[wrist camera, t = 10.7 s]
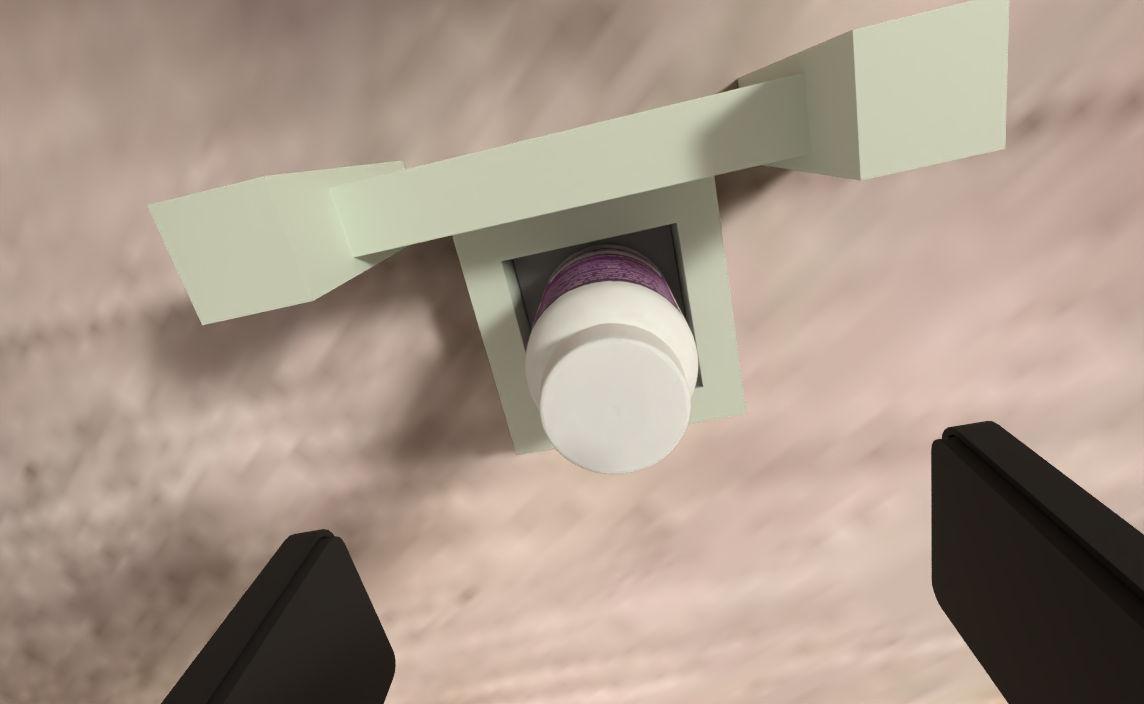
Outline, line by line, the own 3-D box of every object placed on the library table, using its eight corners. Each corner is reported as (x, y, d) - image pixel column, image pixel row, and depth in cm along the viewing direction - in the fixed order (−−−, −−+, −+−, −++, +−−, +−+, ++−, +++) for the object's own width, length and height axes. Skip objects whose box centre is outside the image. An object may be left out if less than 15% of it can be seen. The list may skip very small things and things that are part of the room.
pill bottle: (516, 289, 24) (468, 381, 15) (625, 215, 23) (646, 267, 14) (589, 389, 25) (585, 528, 16) (695, 325, 24) (755, 437, 15)
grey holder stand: (331, 177, 23) (146, 205, 13) (821, 57, 21) (1009, -10, 11) (425, 445, 27) (334, 609, 17) (843, 367, 25) (995, 507, 15)
